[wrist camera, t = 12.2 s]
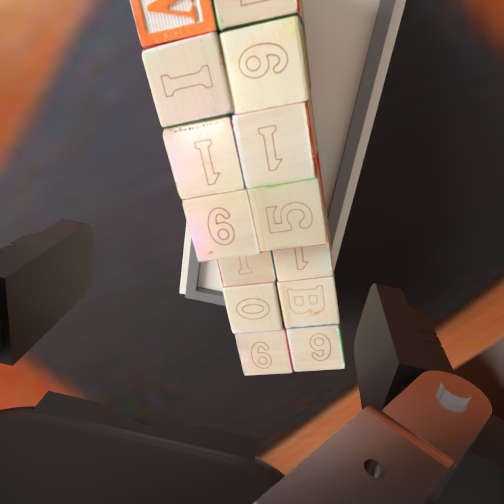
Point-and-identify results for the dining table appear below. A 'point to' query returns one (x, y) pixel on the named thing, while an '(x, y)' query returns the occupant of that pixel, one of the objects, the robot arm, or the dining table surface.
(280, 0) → the stack of blocks
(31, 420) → the robot arm
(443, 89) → the dining table surface
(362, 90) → the base board
